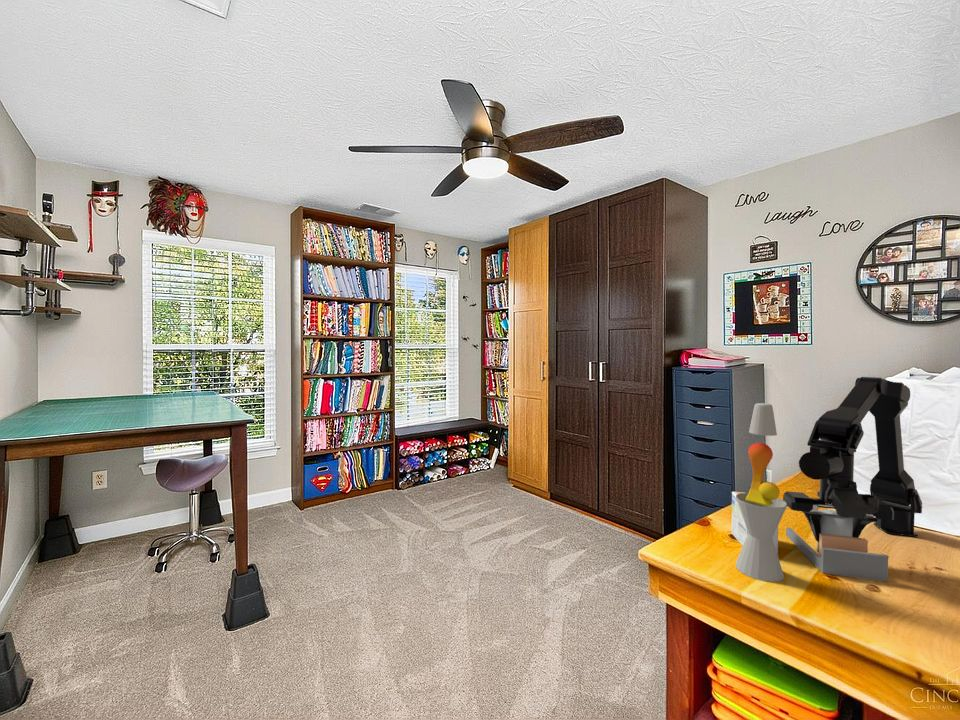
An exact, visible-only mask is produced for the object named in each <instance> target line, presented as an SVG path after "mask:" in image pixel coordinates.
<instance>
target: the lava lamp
mask: <svg viewBox="0 0 960 720" xmlns="http://www.w3.org/2000/svg"><path fill="white" fill-rule="evenodd" d="M773 408H774V407H773V404H770V403H762V402H760V403H759V402H758V403H755V404H754V405H753V411H752V417H751V422H750V425H749V426H750V427H749V430H748V433H750V434H752V435H757V436H769V437H771V436H775V437H776V436H778V433H777V432H778V431H777V426H776V421H775V413H774V409H773ZM747 451H748V454H747V455H748V457H749V460H750V463H751V469H752V481H751V486H750V489H749V491H748V492H741V493H740V494H737V495H736V498H737V501H738V504H739V507H740V510H741V513H742V516H743V519H744V522H745V525H746V528H747V531H748V535H747V537H746V539H745V542H744V544H743V546H742V547H741V550H740V552H739V555H738V557H737V559H736V563H735V565H736V567H735V569H736V568H737V569H738V570H739V571H738V570H737V569H736V570H737V571H738V572H740V573H741V572H742V573H741V574H743V575H744V574H745V576H747V577H749V578H752V579H755V580H758V579H759V580H758V581H764V582H769V583H770V582H771V583H775V582H781V581H783V580H784V579H785V575H784V571H783V569H782V565H781V562H780V558H779V555H778V554H777V552H776V549H775V545H774V542H773V539H772V537H773V535H774V533H775V531H776V529H777V527H778V528H779V525H780V522H781V520H782V517H783V515H784V514H785V511H786V509H787V508H788V506H787V503H786V502H785V501H783V499H781V498H779V496H780V493H781V492H780V488H779V487H778V486H777V484H776V483H773V482H771V481H764V476H765V472H766V469H767V468H768V465H769V464H770V463H771V460H773V456H774V454H773V449H772V448H771V447H770V446H769V445H768V444H766V443H763V442H755V443H753V444H751V445H750V446H749V448H748V450H747ZM735 565H734V566H735Z"/></svg>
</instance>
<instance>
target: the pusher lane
mask: <svg viewBox="0 0 960 720" xmlns="http://www.w3.org/2000/svg"><path fill="white" fill-rule="evenodd" d="M785 536H786V537H787V538H788V539H789V540H790V541H791V542H792V543H793V544H794V545H795V547H797V549H799V550H800V551H801V553H802V554H804V555H805V556H806V558H807V559H809V561H811V563H814V564H815V565H816V566H817V567H818V568H819V569H820V570H819V569H818V568H817V567H816V566H815V565H814V564H813V565H814V566H815V567H816V568H817V569H818V570H819V571H820V572H821V573H822V574H824V575H825V574H827V575H833V576H842V577H851V578H857V579H866V580H871V581H881V582H888V578H889V577H888V574H889V573H888V572H889V556H888V555H886V554H881V553H876V552H875V553H874V552H873V553H872V552H868V553H866V552H857V551H849V550H840V549H832V548H823V547H821V556H820V555H819V553H818V551H817V552H816V550H815V549H814V548H812V546H811V545H809V544H808V542H806V541H805V540H804V539H803V537H801V536H800V535H799V534H798V533H797V532H796V531H795V530H794V529H793V528H792V527H787V526H786V527H785Z"/></svg>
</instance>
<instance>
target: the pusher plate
mask: <svg viewBox="0 0 960 720" xmlns="http://www.w3.org/2000/svg"><path fill="white" fill-rule="evenodd" d="M868 545H869V541H868V540H867V539H866V538H865V537H862V538H861V537H859V538H856V537H847V536H838V535H829V534H820V535H819V553H818V554H819V555H820V556H821V547H823V548H832V549H840V550H849V551H857V552H866V553H869V552H868V548H869V547H868Z"/></svg>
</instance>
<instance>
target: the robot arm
mask: <svg viewBox="0 0 960 720" xmlns="http://www.w3.org/2000/svg"><path fill="white" fill-rule="evenodd" d="M854 382H855V383H854V386H853V387H852V388H851V390H850V391H849V392H848V394H847V395H846V396H845V398H844V399H843V400H842V402H841V403H840V405H838V407H837V408H833V409H832V410H831V409H830V410H828V411H825V413H823V414H821V416H820V417H819V418H818V419H817V420H816V421H815V423H814V425H813V429H812V430H811V433H810V436H809V439H808V441H807V443H806V444H807V446H809V451H808V452H805V453H804V454H802V456H800V459H799V460H798V467H799V468H800V469H799V470H800V471H801V472H802V474H804V476H806V477H807V478H809V479H812V480H817V481H818V480H819V491H817V495H816V496H817V497H818V498H816V497H815V498H813V497H810V496H808V495H807V494H806V493H805V492H800V491H799V492H798V491H788V490H787V491H785V492H784V493H783V495H782V500H783V501H785V502H786V503H787V508H789V509H790V510H791V511H796V512H802V514H803V515H804V516H805V518H806V520H807V522H808V525H809V527H810V530H811V532H812V535H813V537H814V540H815V541H816V542H817V543H818V542H819V535H820V518H821V516H822V515H821V514H820V513H819V512H818V511H819V508H820V509H829V510H835V511H836V512H837V514H838V515H839V516H841V517H845V518H848V517H853V537H856V538H860V535H861V534H862V532H863V530H865V528H866V527H867V526H868V525H869V524H871V523H873V525H874V526H875V525H876V526H875V527H877V526H878V527H879V529H880V528H881V529H882V531H883V530H884V531H885V532H884V531H883V532H884V533H886V532H887V533H886V534H888V533H891V534H890V535H896V534H903V535H902V536H905V535H911V536H910V537H915V536H918V537H919V534H918V533H916V532H915V514H922V513H923V501H922V499H921V496H920V494H919V491H918V490H917V489H916V487H915V481H914V479H913V477H912V476H911V475H910V474H909V473H908V472H907V471H906V470H905V465H904V454H903V439H902V426H901V414H902V413H903V411H904V410H905V409H906V408H907V407H908V405H909V401H910V399H911V388H910V387H909V386H907V385H905V384H904V383H903V382H897V381H892V380H887V379H886V378H882V377H874V376H872V377H871V376H861V377H857V378H856V379H855V381H854ZM868 413H870V414H871V415H872V416H873V417H874V425H875V426H874V427H875V438H876V448H877V450H876V451H877V458H878V459H877V460H878V469H879V470H878V471H877V473H876V474H875V475H874V476H873V477H872V479H871V480H870V485H869V492H870V493H868V494H867V493H859V491H858V484H857V482H856V481H855V480H854V475H855V474H854V471H855V469H854V468H855V453H856V452H857V449H858V447H859V445H860V443H861V441H862V440H863V439H862V438H863V437H864V433H865V431H864V430H863V426H862V421H864V418H865V417H866V415H867V414H868ZM878 527H877V528H878ZM881 529H880V530H881Z"/></svg>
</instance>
